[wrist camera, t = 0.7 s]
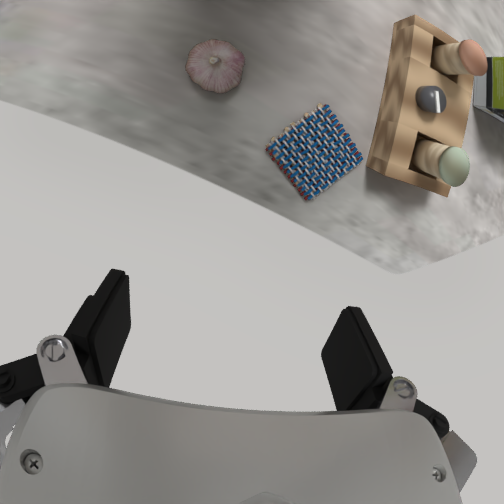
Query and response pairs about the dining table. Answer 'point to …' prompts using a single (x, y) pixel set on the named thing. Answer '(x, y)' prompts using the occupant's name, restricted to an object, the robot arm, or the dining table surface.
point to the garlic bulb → (215, 65)
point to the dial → (431, 99)
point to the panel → (407, 111)
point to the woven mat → (315, 152)
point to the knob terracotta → (459, 58)
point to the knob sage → (441, 161)
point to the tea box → (491, 88)
